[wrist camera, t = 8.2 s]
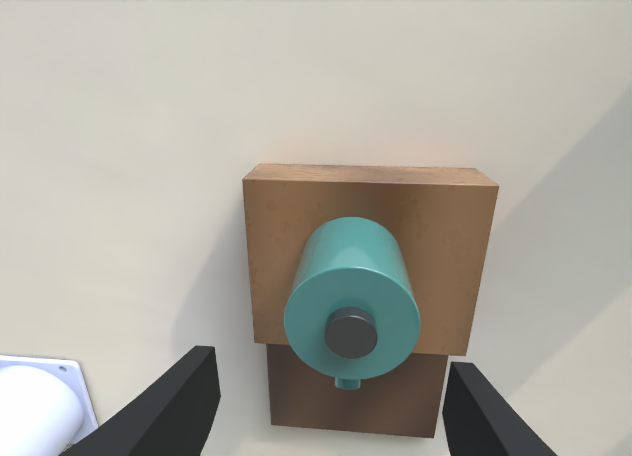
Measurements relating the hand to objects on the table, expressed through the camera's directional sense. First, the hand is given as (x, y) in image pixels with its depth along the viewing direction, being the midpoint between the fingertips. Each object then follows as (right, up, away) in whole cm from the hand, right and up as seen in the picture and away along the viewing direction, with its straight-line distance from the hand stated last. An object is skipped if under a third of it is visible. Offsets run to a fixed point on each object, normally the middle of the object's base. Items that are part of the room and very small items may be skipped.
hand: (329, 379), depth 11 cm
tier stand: (+2, 0, +11) cm, 11 cm away
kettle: (+1, +3, +6) cm, 7 cm away
